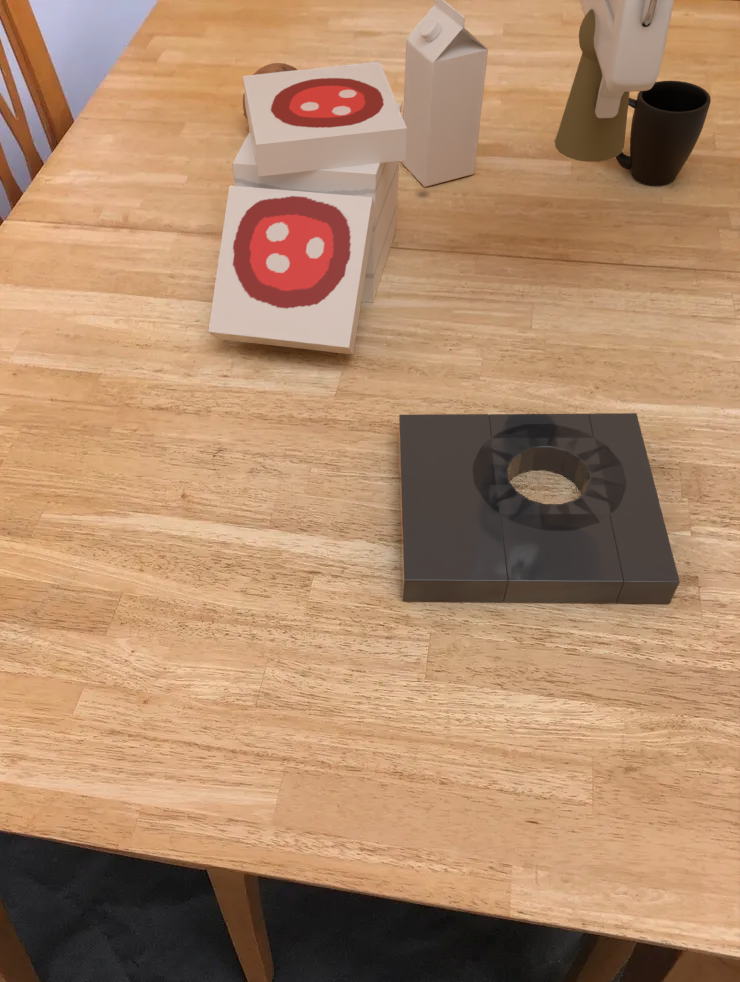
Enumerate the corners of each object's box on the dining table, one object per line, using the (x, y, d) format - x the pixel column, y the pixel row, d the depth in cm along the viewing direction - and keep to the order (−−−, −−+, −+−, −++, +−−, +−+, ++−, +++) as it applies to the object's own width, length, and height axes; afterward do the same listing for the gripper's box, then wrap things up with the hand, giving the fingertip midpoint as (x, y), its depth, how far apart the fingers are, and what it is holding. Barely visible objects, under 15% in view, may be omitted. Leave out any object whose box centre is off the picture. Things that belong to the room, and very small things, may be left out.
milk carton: (449, 150, 122) (463, -12, 107) (474, 175, 118) (492, 10, 103) (400, 162, 121) (407, 0, 106) (424, 188, 117) (435, 23, 102)
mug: (595, 149, 120) (612, 72, 113) (691, 162, 117) (715, 84, 109) (583, 182, 116) (599, 103, 108) (682, 196, 113) (706, 117, 105)
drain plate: (629, 436, 88) (636, 412, 86) (669, 604, 76) (680, 582, 74) (398, 437, 90) (399, 414, 88) (402, 602, 78) (404, 580, 76)
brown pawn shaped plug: (593, 169, 80) (622, 31, 71) (540, 144, 83) (562, 9, 74) (638, 144, 82) (672, 7, 74) (585, 121, 85) (611, -14, 77)
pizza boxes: (195, 359, 99) (169, 200, 84) (267, 208, 116) (255, 54, 101) (372, 381, 95) (375, 218, 81) (419, 221, 112) (428, 63, 98)
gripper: (712, -45, 62) (658, 158, 73) (658, -142, 74) (619, 44, 85) (616, -41, 62) (577, 160, 74) (578, -138, 75) (549, 46, 86)
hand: (599, 97), depth 79 cm, fingers closed on brown pawn shaped plug, 4 cm apart
